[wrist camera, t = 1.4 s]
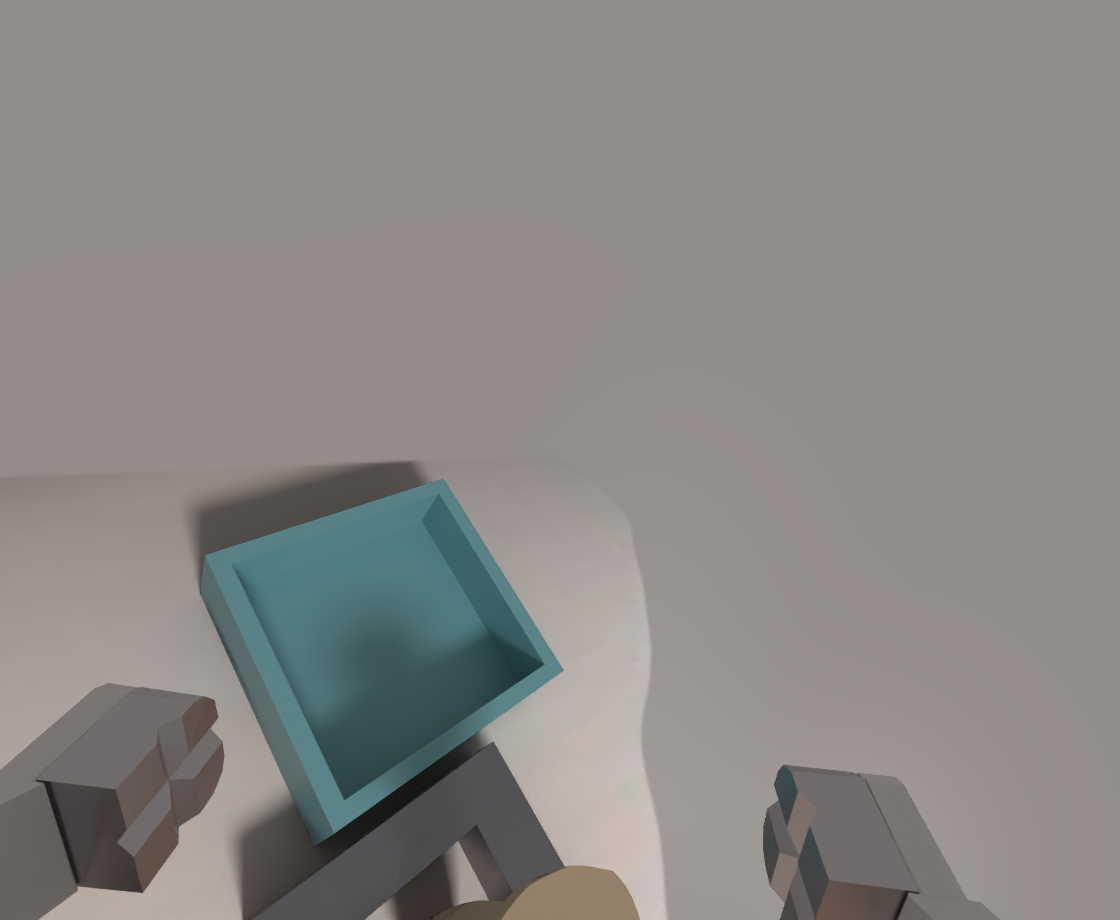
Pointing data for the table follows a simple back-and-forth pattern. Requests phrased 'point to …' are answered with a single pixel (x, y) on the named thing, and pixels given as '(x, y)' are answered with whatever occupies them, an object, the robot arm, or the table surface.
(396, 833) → the socket block
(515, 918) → the handle
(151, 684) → the table surface
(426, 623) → the bin
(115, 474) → the table surface
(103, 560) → the table surface
